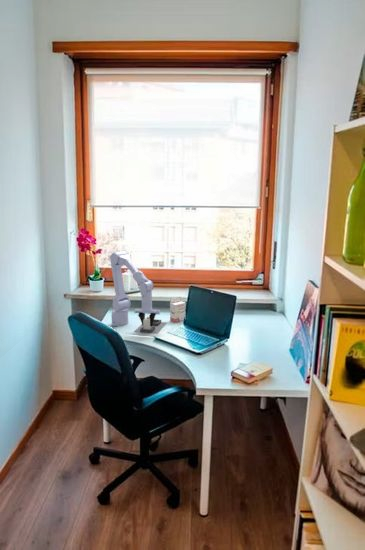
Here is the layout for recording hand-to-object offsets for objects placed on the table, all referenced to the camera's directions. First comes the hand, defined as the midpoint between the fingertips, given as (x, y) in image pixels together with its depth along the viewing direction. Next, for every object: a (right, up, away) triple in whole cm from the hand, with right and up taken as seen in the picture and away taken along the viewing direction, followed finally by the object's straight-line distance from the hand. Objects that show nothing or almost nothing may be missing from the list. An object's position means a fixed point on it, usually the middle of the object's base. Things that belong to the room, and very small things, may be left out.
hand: (147, 325), depth 231 cm
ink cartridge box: (+17, 0, +19) cm, 25 cm away
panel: (+1, -2, +6) cm, 7 cm away
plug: (0, -2, +1) cm, 2 cm away
